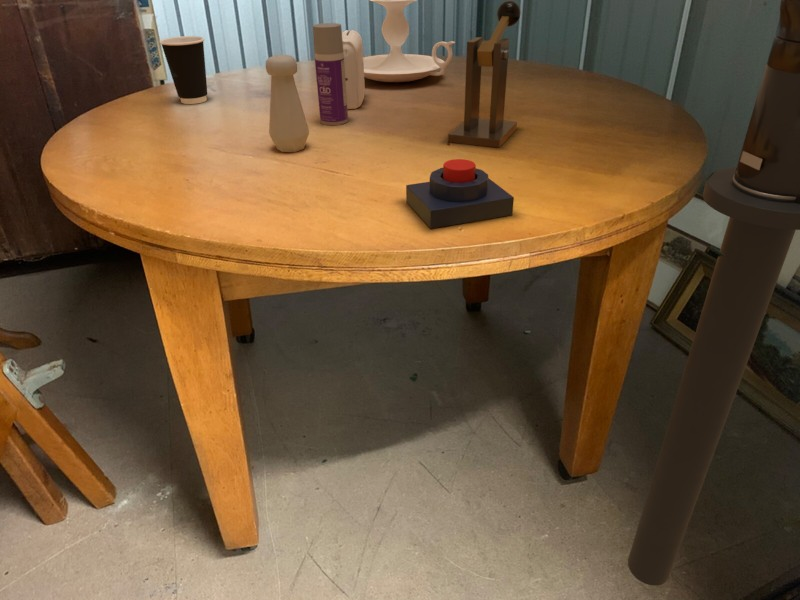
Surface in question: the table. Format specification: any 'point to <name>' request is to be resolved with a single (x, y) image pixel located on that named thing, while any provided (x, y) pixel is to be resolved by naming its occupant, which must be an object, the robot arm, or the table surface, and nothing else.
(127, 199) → the table surface
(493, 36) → the lock lever
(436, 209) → the button housing
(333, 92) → the container
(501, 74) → the lever stand
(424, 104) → the table surface
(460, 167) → the release button
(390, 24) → the candlestick
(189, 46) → the dixie cup
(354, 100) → the photo printer
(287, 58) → the salt shaker
